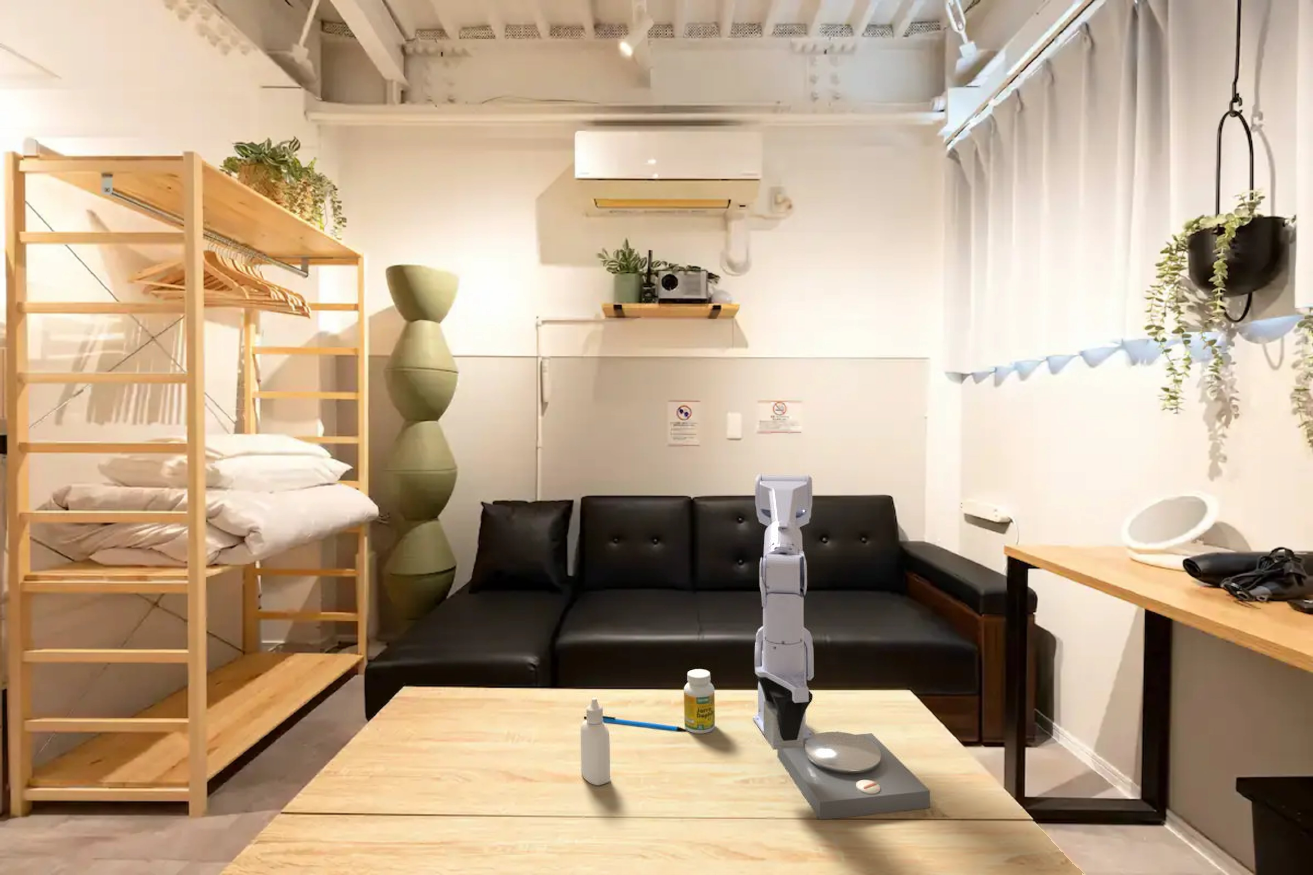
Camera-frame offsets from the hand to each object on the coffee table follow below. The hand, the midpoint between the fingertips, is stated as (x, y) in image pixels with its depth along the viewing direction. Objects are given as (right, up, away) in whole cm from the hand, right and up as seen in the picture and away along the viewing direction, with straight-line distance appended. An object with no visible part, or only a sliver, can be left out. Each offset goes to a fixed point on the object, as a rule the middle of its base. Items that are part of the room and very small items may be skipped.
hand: (783, 730), depth 97 cm
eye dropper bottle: (-28, -9, +5) cm, 29 cm away
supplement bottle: (-11, -9, +20) cm, 25 cm away
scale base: (+10, -9, +4) cm, 14 cm away
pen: (-22, -9, +22) cm, 32 cm away
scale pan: (+10, -6, +5) cm, 12 cm away
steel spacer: (0, -1, 0) cm, 1 cm away
